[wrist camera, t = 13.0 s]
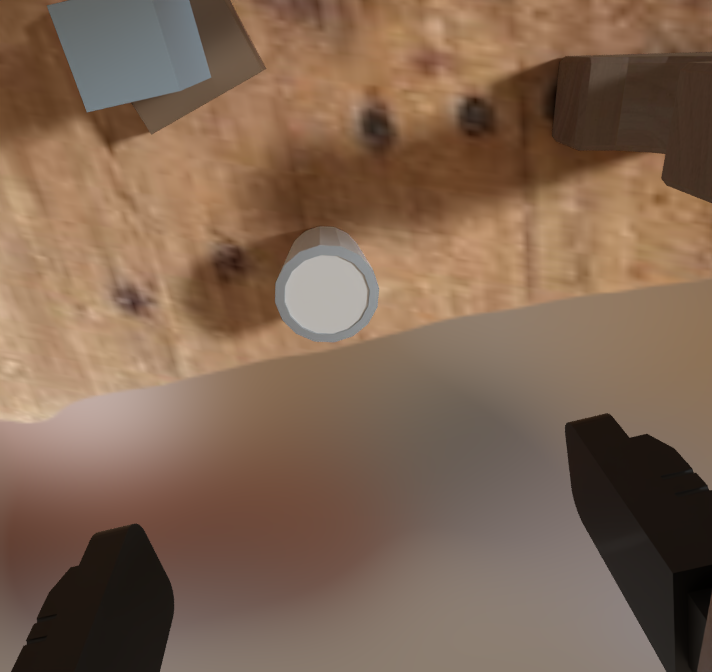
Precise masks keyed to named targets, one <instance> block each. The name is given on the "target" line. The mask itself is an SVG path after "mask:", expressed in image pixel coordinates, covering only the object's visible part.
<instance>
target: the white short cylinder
mask: <svg viewBox="0 0 712 672" xmlns="http://www.w3.org/2000/svg"><path fill="white" fill-rule="evenodd" d="M378 295H379V287H378V284H377V281H376V277H375V274H374V271H373V269H372V267H371V266H370V264H369V262H368V261H367V259H366V257H365V256H364V254H363V252H362V251H361V249H360V247H359V246H358V244H357V243H356V242H355V241H354V240H353V238H352V237H351V236H350V235H349V234H348V233H346V232H344V231H342V230H340V229H338V228H336V227H327V226H319V227H316V228H313V229H310V230H307V231H305V232H304V233H303V234H301V235H300V236H299V237H298V238H297V239H296V240H295V241H294V243H293V245H292V247H291V249H290V251H289V253H288V256H287V258H286V260H285V263H284V265H283V267H282V269H281V272H280V274H279V276H278V279H277V281H276V287H275V303H276V306H277V308H278V311H279V313H280V315H281V318H282V320H283V321H284V322H285V323H286V324H287V325H288V326H289V327H290V328H291V329H292V330H293V331H294V332H295V333H296V334H298V335H300V336H303V337H305V338H307V339H310V340H312V341H317V342H336V341H339V340H343V339H346V338H349V337H352V336H354V335H355V334H356V333H357V332H359V331H360V330H361V329H362V328H364V327H365V326H366V325H367V324H368V323H369V321H370V319H371V318H372V316H373V314H374V312H375V310H376V309H377V305H378Z"/></svg>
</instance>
